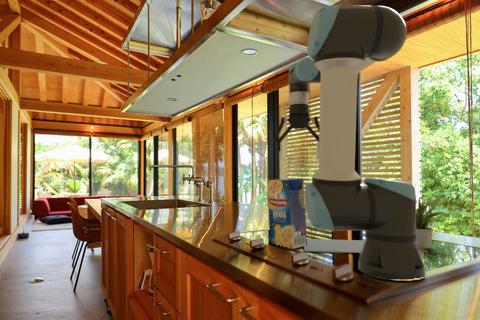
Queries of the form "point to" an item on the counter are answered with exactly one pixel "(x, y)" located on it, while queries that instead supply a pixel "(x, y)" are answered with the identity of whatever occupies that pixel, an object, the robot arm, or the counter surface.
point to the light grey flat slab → (334, 246)
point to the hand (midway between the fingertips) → (299, 160)
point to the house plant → (424, 225)
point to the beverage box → (287, 212)
